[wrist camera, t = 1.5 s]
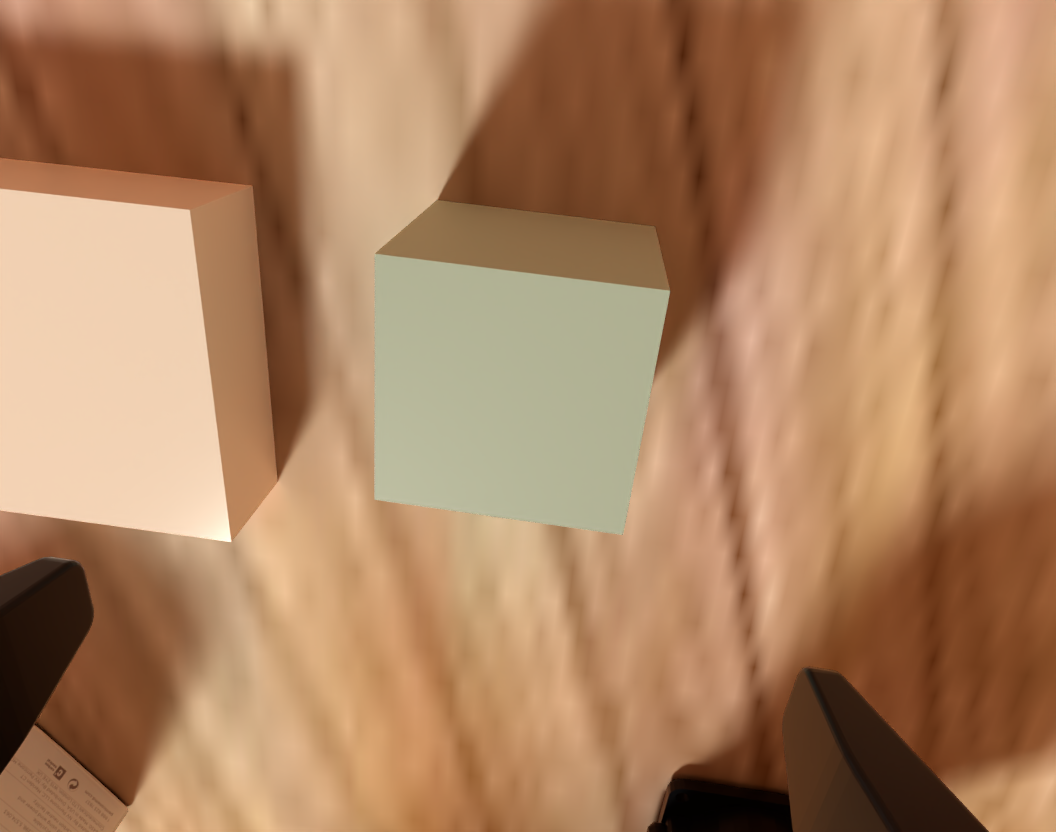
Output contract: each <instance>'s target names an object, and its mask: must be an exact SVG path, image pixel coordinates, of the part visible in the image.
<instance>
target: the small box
mask: <svg viewBox="0 0 1056 832" xmlns="http://www.w3.org/2000/svg"><path fill="white" fill-rule="evenodd" d="M127 812H128V808H127V807H126V806H125V805H124V804H123V803H122V802H121V801H120V800H119V799H118V798H117V797H116V796H115V795H114V794H112V793H111V792H110V791H109V790H108V789H107V788H106V787H105V786H103V785H102V784H101V783H100V782H99V781H98V780H97V779H96V778H95V777H94V776H93V775H91V774H90V773H89V772H88V771H87V770H86V769H85V768H83V767H82V766H81V765H80V764H79V763H78V762H77V761H76V760H75V759H74V758H73V757H71V756H70V755H69V754H68V753H67V752H66V751H65V750H64V749H62V748H61V747H60V746H59V745H58V744H57V743H55V742H54V741H53V740H52V739H51V738H50V737H48V736H47V735H46V734H45V733H44V732H43V731H42V730H40V729H39V728H38V727H37V726H35V725H34V726H33V727H32V729H31V731H30V732H29V734H28V735H27V737H26V739H25V740H24V742H23V743H22V745H21V746H20V748H19V749H18V751H17V752H16V753H15V755H14V756H13V758H12V759H11V761H10V762H9V764H8V765H7V766H6V768H5V769H4V771H3V772H2V773H1V775H0V832H115V830H116V829H117V827H118V826H119V824H120V823H121V821H122V820H123V818H124V817H125V815H126V814H127Z"/></svg>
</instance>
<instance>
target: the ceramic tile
mask: <svg viewBox="0 0 1056 832" xmlns="http://www.w3.org/2000/svg"><path fill="white" fill-rule="evenodd" d="M277 482H278V480H277V468H276V456H275V444H274V432H273V420H272V408H271V396H270V385H269V373H268V361H267V349H266V337H265V325H264V313H263V302H262V290H261V278H260V266H259V254H258V242H257V230H256V218H255V207H254V195H253V186H252V185H243V184H234V183H225V182H216V181H207V180H198V179H189V178H179V177H170V176H161V175H152V174H143V173H134V172H125V171H116V170H107V169H98V168H89V167H80V166H71V165H61V164H52V163H43V162H34V161H25V160H16V159H7V158H0V510H1V511H8V512H15V513H23V514H30V515H37V516H45V517H52V518H59V519H67V520H74V521H81V522H89V523H96V524H103V525H110V526H118V527H125V528H132V529H140V530H147V531H154V532H162V533H169V534H176V535H184V536H191V537H198V538H206V539H213V540H220V541H228V542H232V540H233V539H234V538H235V537H236V535H237V534H238V533H239V531H240V530H241V529H242V527H243V526H244V525H245V524H246V522H247V521H248V520H249V518H250V517H251V516H252V514H253V513H254V512H255V511H256V509H257V508H258V507H259V505H260V504H261V503H262V501H263V500H264V499H265V498H266V496H267V495H268V494H269V492H270V491H271V490H272V488H273V487H274V486H275V485H276V483H277Z"/></svg>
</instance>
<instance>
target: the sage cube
mask: <svg viewBox="0 0 1056 832" xmlns="http://www.w3.org/2000/svg"><path fill="white" fill-rule="evenodd" d="M669 295H670V287H669V283H668V279H667V274H666V270H665V266H664V262H663V257H662V253H661V249H660V245H659V240H658V236H657V232H656V228H655V226H648V225H640V224H631V223H623V222H615V221H607V220H598V219H590V218H582V217H574V216H565V215H557V214H549V213H541V212H533V211H524V210H516V209H508V208H500V207H491V206H483V205H475V204H467V203H458V202H450V201H442V200H437V201H435V202H434V203H433V204H432V205H431V206H430V207H429V208H427V209H426V210H425V211H424V212H423V213H422V214H420V215H419V216H418V217H417V218H416V219H415V220H413V221H412V222H411V223H410V224H409V225H408V226H406V227H405V228H404V229H403V230H402V231H401V232H400V233H398V234H397V235H396V236H395V237H394V238H393V239H391V240H390V241H389V242H388V243H387V244H386V245H384V246H383V247H382V248H381V249H380V250H379V251H377V252H376V253H375V500H381V501H388V502H395V503H402V504H409V505H416V506H423V507H430V508H437V509H444V510H451V511H458V512H465V513H472V514H479V515H486V516H493V517H500V518H507V519H514V520H521V521H528V522H535V523H542V524H549V525H556V526H563V527H570V528H578V529H585V530H592V531H599V532H606V533H613V534H620V535H623V533H624V528H625V522H626V517H627V512H628V507H629V502H630V497H631V491H632V486H633V481H634V476H635V471H636V466H637V460H638V455H639V450H640V445H641V440H642V435H643V429H644V424H645V419H646V414H647V409H648V404H649V398H650V393H651V388H652V383H653V378H654V373H655V367H656V362H657V357H658V352H659V347H660V342H661V336H662V331H663V326H664V321H665V316H666V311H667V306H668V300H669Z"/></svg>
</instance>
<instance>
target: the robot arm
mask: <svg viewBox="0 0 1056 832" xmlns="http://www.w3.org/2000/svg"><path fill="white" fill-rule="evenodd" d="M93 617H94V608H93V603H92V599H91V595H90V591H89V586H88V582H87V578H86V574H85V570H84V567H83V566H82V565H81V564H80V563H79V562H77V561H75V560H70V559H63V558H56V557H44V558H41V559H38V560H36V561H33V562H31V563H29V564H26V565H24V566H22V567H19V568H17V569H15V570H12V571H10V572H8V573H5V574H3V575H0V775H1V773H2V772H3V771H4V769H5V768H6V766H7V765H8V764H9V762H10V761H11V759H12V758H13V756H14V755H15V753H16V752H17V751H18V749H19V748H20V746H21V745H22V743H23V742H24V740H25V739H26V737H27V735H28V734H29V732H30V731H31V729H32V727H33V726H34V724H35V723H36V721H37V719H38V718H39V716H40V714H41V712H42V711H43V709H44V707H45V706H46V704H47V702H48V700H49V699H50V697H51V695H52V694H53V692H54V690H55V688H56V687H57V685H58V683H59V682H60V680H61V678H62V676H63V675H64V673H65V671H66V669H67V668H68V666H69V664H70V663H71V661H72V659H73V657H74V656H75V654H76V652H77V651H78V649H79V647H80V645H81V644H82V642H83V640H84V639H85V637H86V635H87V633H88V632H89V630H90V628H91V625H92V622H93ZM782 733H783V743H784V753H785V762H786V771H787V781H788V790H789V796H788V795H782V794H776V793H769V792H763V791H757V790H750V789H744V788H738V787H731V786H725V785H719V784H712V783H706V782H700V781H693V780H687V779H676V780H673V781H672V782H670V783H669V785H668V787H667V791H666V794H665V798H664V801H663V805H662V809H661V812H660V816H659V819H658V822H653V823H652V824H651V825H650V826H649V827H648V829H647V832H989V831H988V830H987V829H986V828H985V827H984V826H983V825H982V824H981V823H980V822H979V820H978V819H977V818H976V817H975V816H974V815H973V814H972V813H971V812H970V811H969V810H968V809H967V808H966V807H965V806H964V804H963V803H962V802H961V801H960V800H959V799H958V798H957V797H956V796H955V795H954V794H953V793H952V792H951V791H950V790H949V788H948V787H947V786H946V785H945V784H944V783H943V782H942V781H941V780H940V779H939V778H938V777H937V776H936V775H935V774H934V772H933V771H932V770H931V769H930V768H929V767H928V766H927V765H926V764H925V763H924V762H923V761H922V760H921V759H920V758H919V756H918V755H917V754H916V753H915V752H914V751H913V750H912V749H911V748H910V747H909V746H908V745H907V744H906V743H905V741H904V740H903V739H902V738H901V737H900V736H899V735H898V734H897V733H896V732H895V731H894V730H893V729H892V728H891V727H890V725H889V724H888V723H887V722H886V721H885V720H884V719H883V718H882V717H881V716H880V715H879V714H878V713H877V712H876V711H875V709H874V708H873V707H872V706H871V705H870V704H869V703H868V702H867V701H866V700H865V699H864V698H863V697H862V696H861V695H860V693H859V692H858V691H857V690H856V689H855V688H854V687H853V686H852V685H851V684H850V683H849V682H848V681H847V680H846V679H845V677H844V676H842V675H841V674H840V673H838V672H837V671H834V670H828V669H822V668H815V667H804V668H802V669H801V671H800V672H799V674H798V676H797V679H796V681H795V684H794V687H793V690H792V692H791V695H790V698H789V701H788V703H787V706H786V709H785V712H784V716H783V724H782Z"/></svg>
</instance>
